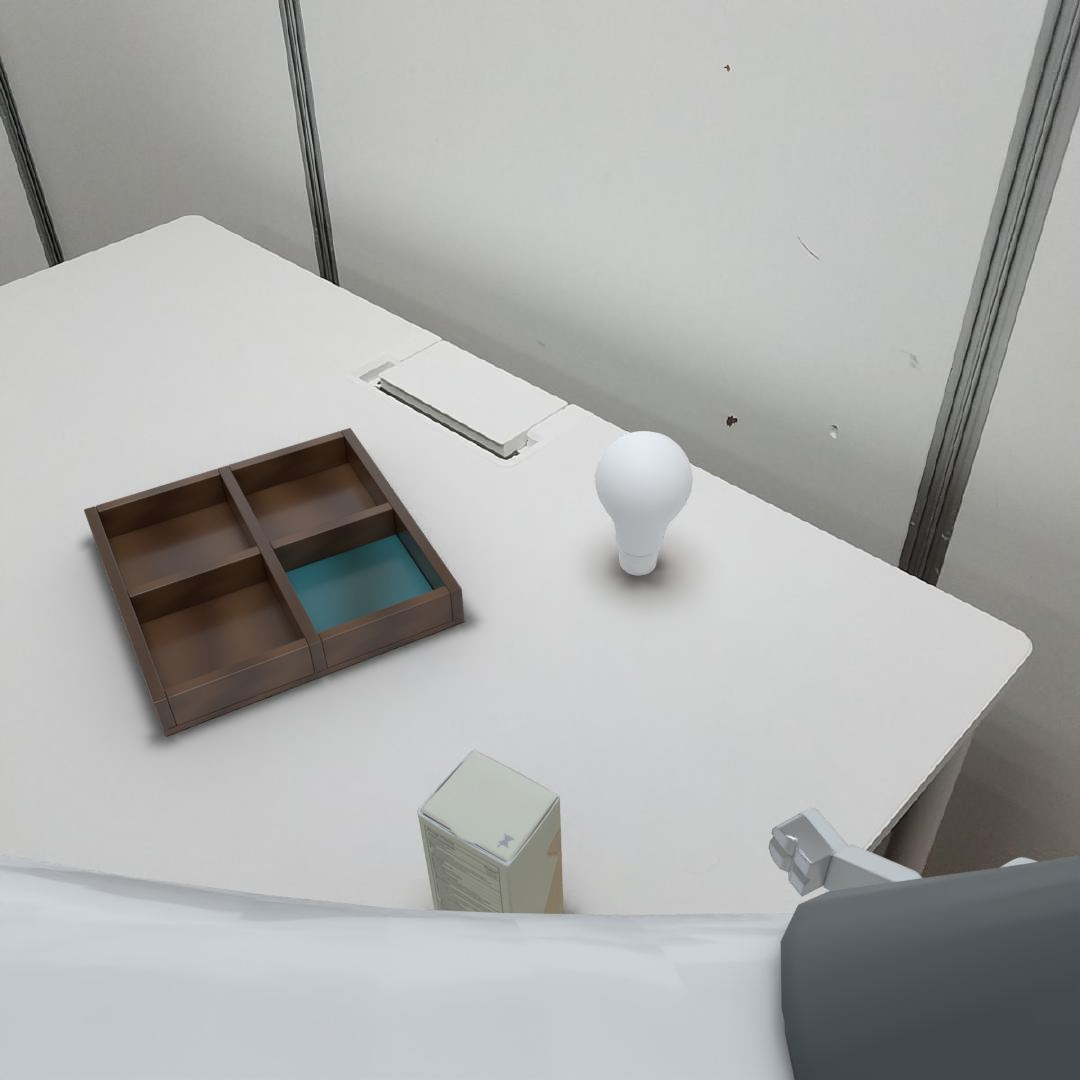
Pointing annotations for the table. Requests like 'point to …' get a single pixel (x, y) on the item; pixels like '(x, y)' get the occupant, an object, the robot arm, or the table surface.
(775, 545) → the table surface
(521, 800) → the box
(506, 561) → the table surface
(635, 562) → the lightbulb
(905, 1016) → the robot arm
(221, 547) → the grid
